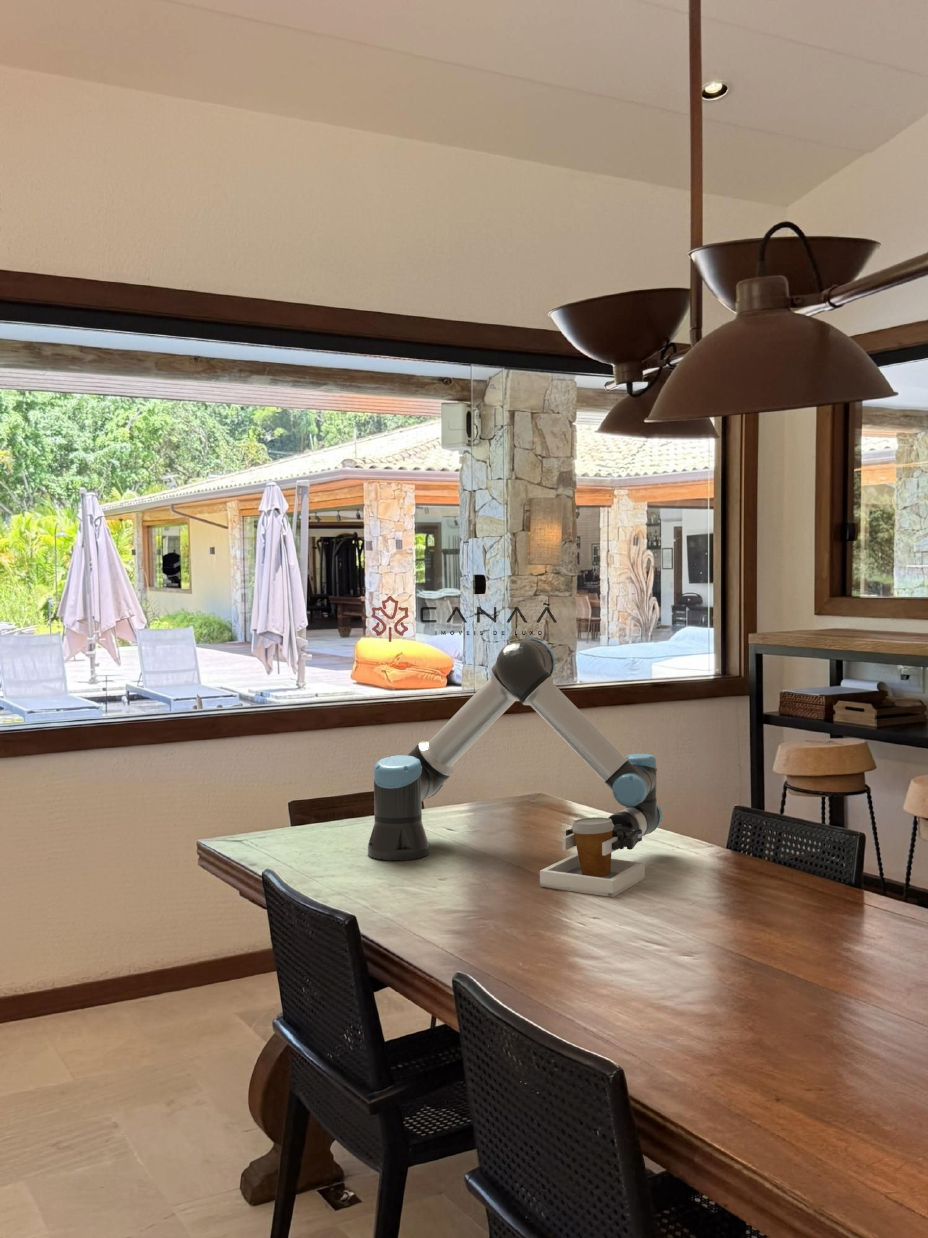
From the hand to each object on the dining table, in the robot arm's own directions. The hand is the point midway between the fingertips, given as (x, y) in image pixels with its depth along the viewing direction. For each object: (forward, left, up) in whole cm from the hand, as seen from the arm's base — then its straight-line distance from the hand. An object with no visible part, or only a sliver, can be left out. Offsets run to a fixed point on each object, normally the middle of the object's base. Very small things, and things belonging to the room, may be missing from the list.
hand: (583, 846), depth 253 cm
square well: (0, +5, -9) cm, 10 cm away
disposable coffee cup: (+1, +5, -7) cm, 9 cm away
